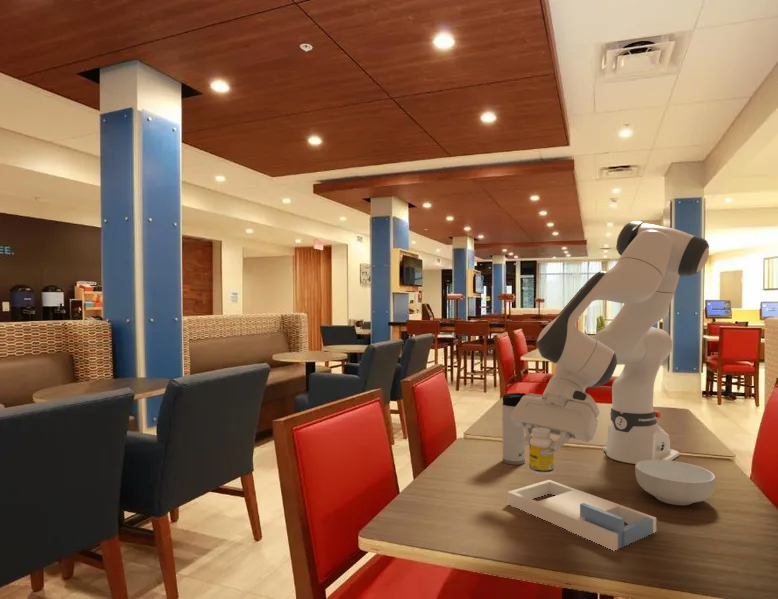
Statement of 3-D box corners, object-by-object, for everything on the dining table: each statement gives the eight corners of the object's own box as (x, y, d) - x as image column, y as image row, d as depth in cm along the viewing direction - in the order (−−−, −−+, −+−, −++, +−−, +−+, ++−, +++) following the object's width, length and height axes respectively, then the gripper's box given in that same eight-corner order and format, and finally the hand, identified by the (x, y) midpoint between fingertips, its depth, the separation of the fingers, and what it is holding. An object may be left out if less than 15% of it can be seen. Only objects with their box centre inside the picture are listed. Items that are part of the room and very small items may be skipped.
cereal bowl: (715, 519, 113) (715, 486, 113) (630, 503, 121) (630, 473, 121) (715, 494, 127) (715, 465, 127) (639, 482, 136) (639, 454, 136)
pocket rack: (549, 491, 129) (549, 469, 129) (656, 532, 106) (656, 505, 106) (507, 504, 121) (507, 480, 121) (614, 551, 98) (613, 522, 98)
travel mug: (526, 465, 149) (526, 395, 149) (502, 464, 150) (502, 394, 150) (525, 459, 155) (525, 391, 155) (502, 457, 157) (502, 390, 157)
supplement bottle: (526, 467, 124) (526, 426, 124) (548, 467, 125) (548, 426, 125) (534, 475, 119) (534, 432, 119) (557, 475, 119) (557, 432, 119)
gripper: (519, 385, 134) (497, 430, 127) (597, 397, 119) (576, 448, 112) (529, 399, 137) (507, 444, 131) (606, 413, 122) (586, 464, 116)
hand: (540, 446), depth 121 cm, fingers closed on supplement bottle, 5 cm apart
